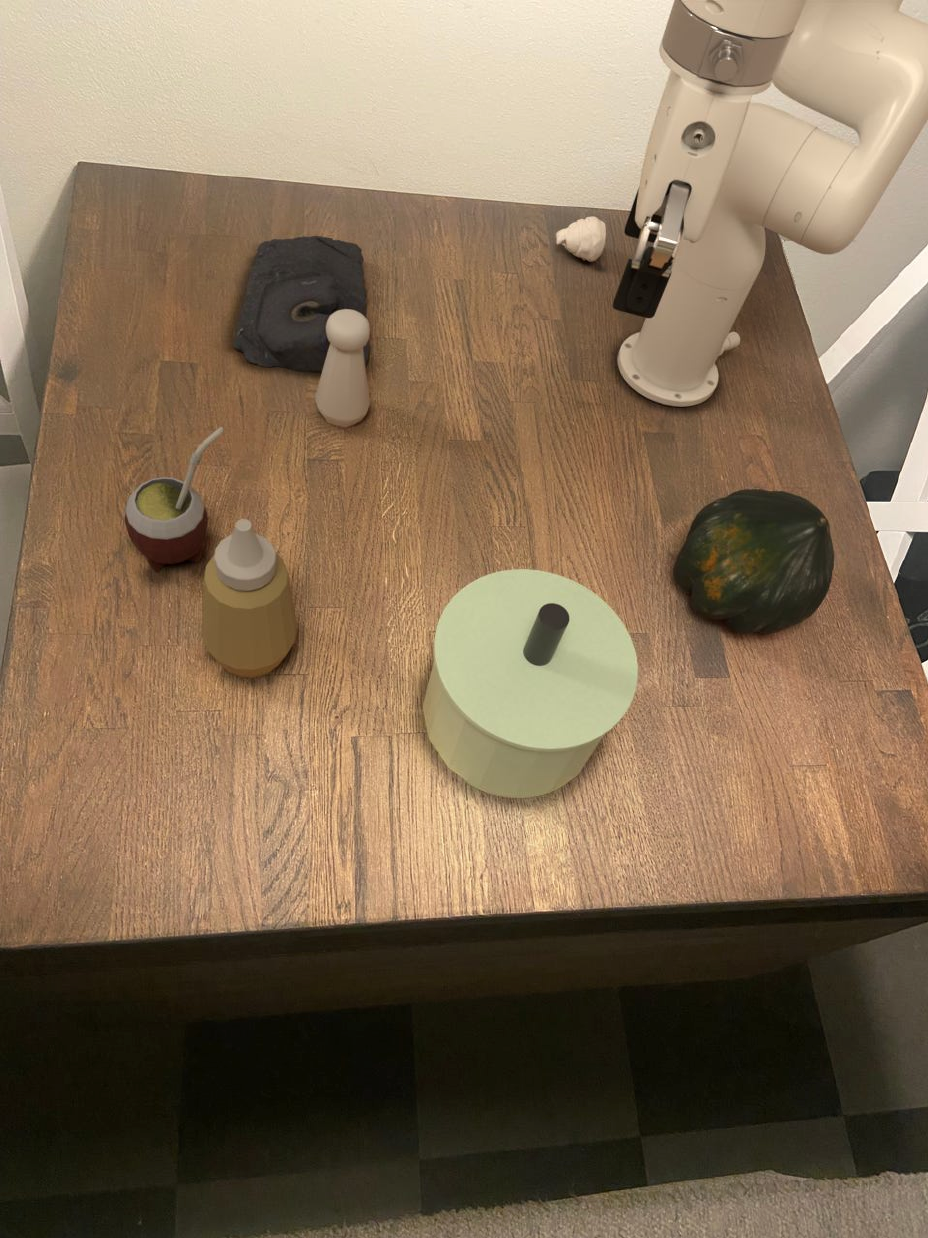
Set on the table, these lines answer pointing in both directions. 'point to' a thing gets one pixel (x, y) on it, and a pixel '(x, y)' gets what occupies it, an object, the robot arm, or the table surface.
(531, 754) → the green cylindrical sleeve
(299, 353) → the dark slate chunk
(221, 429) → the mate gourd
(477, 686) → the lid
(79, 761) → the table surface
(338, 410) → the salt shaker
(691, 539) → the squash
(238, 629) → the squeeze bottle
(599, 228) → the garlic bulb
